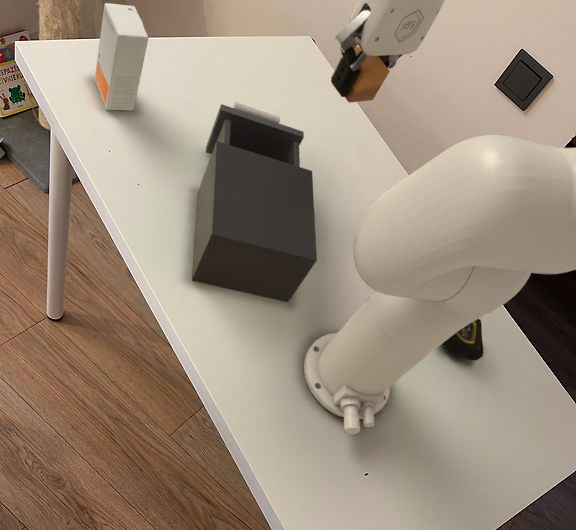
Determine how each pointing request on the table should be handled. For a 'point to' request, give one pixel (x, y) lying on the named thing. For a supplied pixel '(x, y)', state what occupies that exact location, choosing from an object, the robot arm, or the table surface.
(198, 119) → the table surface
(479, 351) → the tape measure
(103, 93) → the cosmetic box
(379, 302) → the robot arm
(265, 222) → the drawer cabinet
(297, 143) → the dark grey box
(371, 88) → the block
